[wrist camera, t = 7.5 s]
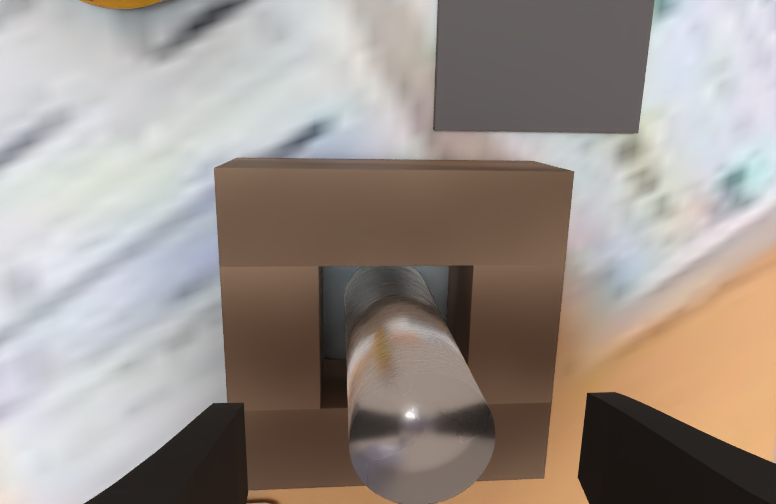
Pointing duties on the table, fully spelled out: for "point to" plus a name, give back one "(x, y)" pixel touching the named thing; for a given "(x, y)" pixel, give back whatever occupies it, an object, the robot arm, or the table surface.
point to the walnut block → (387, 248)
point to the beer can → (122, 3)
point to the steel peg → (410, 392)
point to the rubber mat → (541, 65)
